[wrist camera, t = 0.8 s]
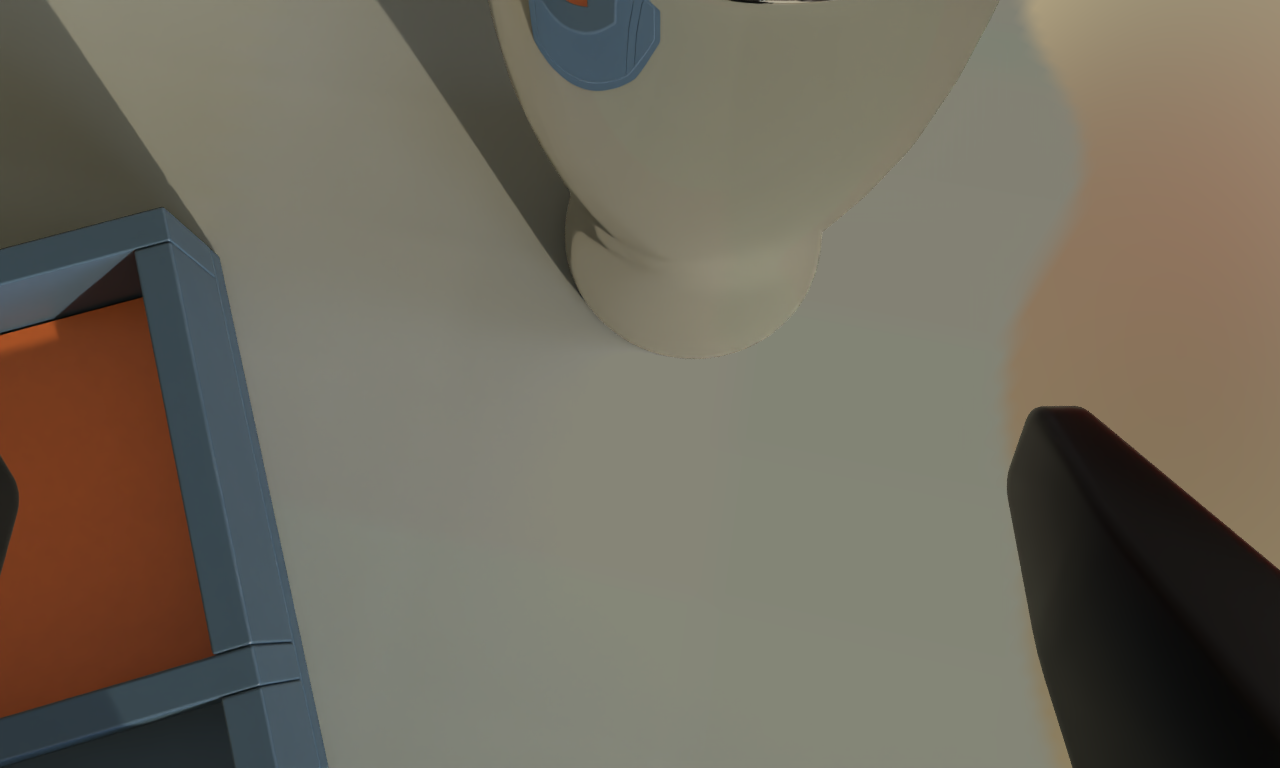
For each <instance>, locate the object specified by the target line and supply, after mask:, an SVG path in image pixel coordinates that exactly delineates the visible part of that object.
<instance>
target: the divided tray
mask: <svg viewBox="0 0 1280 768" xmlns="http://www.w3.org/2000/svg"><path fill="white" fill-rule="evenodd" d="M0 455H1V457H2V459H3V460H4V462H5V464H6V465H7V467H8V469H9V470H10V472H11V474H12V475H13V477H14V479H15V481H16V483H17V487H18V491H19V507H18V513H17V516H16V520H15V524H14V527H13V531H12V535H11V538H10V542H9V546H8V549H7V553H6V557H5V560H4V564H3V568H2V571H1V575H0V768H328V763H327V759H326V754H325V749H324V745H323V740H322V735H321V731H320V726H319V721H318V717H317V712H316V707H315V703H314V698H313V693H312V689H311V684H310V679H309V675H308V670H307V665H306V661H305V656H304V651H303V647H302V642H301V637H300V633H299V628H298V623H297V618H296V614H295V609H294V604H293V600H292V595H291V590H290V586H289V581H288V576H287V572H286V567H285V562H284V558H283V553H282V548H281V544H280V539H279V534H278V530H277V525H276V520H275V516H274V511H273V506H272V502H271V497H270V492H269V488H268V483H267V478H266V473H265V469H264V464H263V459H262V455H261V450H260V445H259V441H258V436H257V431H256V427H255V422H254V417H253V413H252V408H251V403H250V399H249V394H248V389H247V385H246V380H245V375H244V371H243V366H242V361H241V357H240V352H239V347H238V343H237V338H236V333H235V329H234V324H233V319H232V314H231V310H230V305H229V300H228V296H227V291H226V286H225V282H224V277H223V272H222V268H221V263H220V258H219V256H218V255H217V254H216V253H214V252H213V251H212V250H211V249H210V248H209V247H208V246H207V245H206V244H205V243H204V242H202V241H201V240H200V239H199V238H198V237H197V236H196V235H194V234H193V233H192V232H191V231H190V230H189V229H188V228H187V227H185V226H184V225H183V224H182V223H181V222H180V221H179V220H177V219H176V218H175V217H174V216H173V215H172V214H171V213H170V212H168V211H167V210H166V209H165V208H164V207H160V208H156V209H152V210H148V211H144V212H141V213H137V214H133V215H129V216H125V217H122V218H118V219H114V220H110V221H106V222H102V223H99V224H95V225H91V226H87V227H83V228H80V229H76V230H72V231H68V232H64V233H60V234H57V235H53V236H49V237H45V238H41V239H38V240H34V241H30V242H26V243H22V244H18V245H15V246H11V247H7V248H3V249H0Z"/></svg>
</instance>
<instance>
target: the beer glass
mask: <svg viewBox="0 0 1280 768" xmlns="http://www.w3.org/2000/svg"><path fill="white" fill-rule="evenodd" d="M488 3H489V7H490V12H491V16H492V20H493V24H494V27H495V31H496V34H497V37H498V41H499V44H500V48H501V51H502V55H503V58H504V61H505V65H506V68H507V72H508V75H509V78H510V81H511V84H512V86H513V89H514V91H515V94H516V96H517V98H518V100H519V103H520V105H521V107H522V109H523V111H524V113H525V115H526V117H527V119H528V121H529V123H530V125H531V127H532V129H533V131H534V134H535V136H536V138H537V140H538V142H539V144H540V145H541V147H542V149H543V151H544V152H545V154H546V156H547V157H548V159H549V161H550V162H551V164H552V165H553V167H554V168H555V170H556V172H557V173H558V175H559V176H560V178H561V180H562V181H563V183H564V184H565V186H566V187H567V189H568V190H569V192H570V193H571V196H570V199H569V203H568V208H567V213H566V220H565V248H566V255H567V261H568V265H569V268H570V271H571V274H572V277H573V279H574V282H575V284H576V286H577V288H578V290H579V292H580V294H581V295H582V297H583V299H584V300H585V302H586V303H587V305H588V306H589V307H590V309H591V310H592V311H593V312H594V313H595V315H596V316H597V317H598V318H599V319H600V320H601V321H602V322H603V323H604V324H605V325H606V326H607V327H608V328H610V329H611V330H612V331H613V332H615V333H616V334H617V335H619V336H620V337H622V338H623V339H625V340H626V341H628V342H630V343H632V344H634V345H636V346H638V347H640V348H642V349H644V350H647V351H650V352H653V353H656V354H660V355H664V356H668V357H674V358H682V359H706V358H714V357H720V356H725V355H728V354H732V353H735V352H738V351H741V350H744V349H746V348H748V347H751V346H753V345H755V344H757V343H758V342H760V341H762V340H764V339H765V338H767V337H768V336H770V335H771V334H772V333H774V332H775V331H776V330H778V329H779V328H780V327H781V326H782V325H783V324H784V323H785V322H786V321H787V320H788V319H789V318H790V317H791V316H792V315H793V314H794V312H795V311H796V310H797V309H798V307H799V306H800V304H801V303H802V301H803V300H804V298H805V296H806V294H807V293H808V291H809V289H810V286H811V284H812V282H813V279H814V276H815V274H816V271H817V267H818V263H819V259H820V253H821V244H822V232H823V231H825V230H826V229H827V228H828V227H830V226H831V225H832V224H833V223H835V222H836V221H837V220H838V219H839V218H840V217H842V216H843V215H844V214H845V213H846V212H848V211H849V210H850V209H851V208H852V207H854V206H855V205H856V204H857V203H858V202H859V201H861V200H862V199H863V198H864V197H865V196H866V195H867V194H868V193H869V192H870V191H871V190H872V189H873V188H874V187H875V186H876V185H877V184H878V183H879V182H880V181H881V180H882V179H883V178H884V177H885V176H886V175H887V173H888V172H889V171H890V170H891V169H892V168H893V167H894V166H895V165H896V164H897V163H898V162H899V161H900V160H901V159H902V158H903V157H904V156H905V155H906V153H907V152H908V151H909V150H910V149H911V148H912V146H913V145H914V144H915V142H916V141H917V140H918V138H919V137H920V136H921V134H922V133H923V131H924V130H925V128H926V127H927V125H928V124H929V123H930V121H931V120H932V118H933V117H934V115H935V114H936V112H937V111H938V109H939V108H940V106H941V105H942V103H943V102H944V100H945V99H946V98H947V96H948V95H949V93H950V92H951V90H952V89H953V87H954V85H955V84H956V82H957V81H958V79H959V77H960V75H961V74H962V72H963V70H964V68H965V66H966V64H967V63H968V61H969V59H970V57H971V55H972V53H973V51H974V49H975V48H976V46H977V44H978V42H979V40H980V38H981V36H982V34H983V33H984V31H985V29H986V27H987V25H988V23H989V21H990V19H991V17H992V15H993V13H994V11H995V9H996V7H997V5H998V3H999V0H488Z"/></svg>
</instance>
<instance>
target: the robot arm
mask: <svg viewBox="0 0 1280 768" xmlns="http://www.w3.org/2000/svg"><path fill="white" fill-rule="evenodd" d="M1007 495H1008V501H1009V507H1010V512H1011V518H1012V523H1013V528H1014V534H1015V539H1016V544H1017V550H1018V555H1019V560H1020V566H1021V571H1022V577H1023V582H1024V587H1025V593H1026V598H1027V603H1028V609H1029V614H1030V619H1031V625H1032V630H1033V634H1034V639H1035V644H1036V649H1037V653H1038V657H1039V660H1040V664H1041V667H1042V671H1043V674H1044V678H1045V681H1046V684H1047V687H1048V691H1049V694H1050V697H1051V700H1052V703H1053V707H1054V710H1055V713H1056V716H1057V719H1058V723H1059V726H1060V729H1061V732H1062V735H1063V738H1064V742H1065V745H1066V748H1067V751H1068V754H1069V758H1070V761H1071V764H1072V767H1073V768H1280V570H1279V569H1278V568H1276V567H1275V566H1274V565H1273V564H1272V563H1271V562H1269V561H1268V560H1267V559H1266V558H1265V557H1263V556H1262V555H1261V554H1260V553H1259V552H1257V551H1256V550H1255V549H1254V548H1253V547H1251V546H1250V545H1249V544H1248V543H1247V542H1245V541H1244V540H1243V539H1242V538H1240V537H1239V536H1238V535H1237V534H1235V533H1234V532H1233V531H1232V530H1231V529H1230V528H1229V527H1227V526H1226V525H1225V524H1224V523H1223V522H1221V521H1220V520H1219V519H1218V518H1217V517H1215V516H1214V515H1213V514H1212V513H1210V512H1209V511H1208V510H1207V509H1206V508H1205V507H1203V506H1202V505H1201V504H1200V503H1198V502H1197V501H1196V500H1195V499H1194V498H1192V497H1191V496H1190V495H1189V494H1187V493H1186V492H1185V491H1184V490H1183V489H1182V488H1180V487H1179V486H1178V485H1177V484H1176V483H1174V482H1173V481H1172V480H1171V479H1170V478H1168V477H1167V476H1166V475H1165V474H1164V473H1162V472H1161V471H1160V470H1159V469H1158V468H1156V467H1155V466H1154V465H1153V464H1152V463H1150V462H1149V461H1148V460H1147V459H1145V458H1144V457H1143V456H1142V455H1140V453H1138V452H1137V451H1136V450H1135V449H1134V448H1132V447H1131V446H1130V445H1129V444H1128V443H1126V442H1125V441H1124V440H1123V439H1122V438H1120V437H1119V436H1118V435H1117V434H1115V433H1114V432H1113V431H1112V430H1111V429H1110V428H1108V427H1107V426H1106V425H1105V424H1103V423H1102V422H1101V421H1100V420H1099V419H1098V418H1096V417H1095V416H1094V415H1093V414H1092V413H1090V412H1089V411H1087V410H1086V409H1084V408H1082V407H1077V406H1043V407H1038V408H1035V409H1033V410H1032V411H1031V412H1030V414H1029V415H1028V417H1027V419H1026V422H1025V425H1024V427H1023V430H1022V433H1021V436H1020V439H1019V442H1018V445H1017V448H1016V451H1015V453H1014V456H1013V459H1012V462H1011V465H1010V468H1009V472H1008V478H1007ZM18 507H19V491H18V487H17V483H16V481H15V479H14V477H13V475H12V474H11V472H10V470H9V469H8V467H7V465H6V464H5V462H4V460H3V459H2V457H1V455H0V575H1V571H2V568H3V564H4V560H5V557H6V553H7V549H8V546H9V542H10V538H11V535H12V531H13V527H14V524H15V520H16V516H17V513H18Z"/></svg>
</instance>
